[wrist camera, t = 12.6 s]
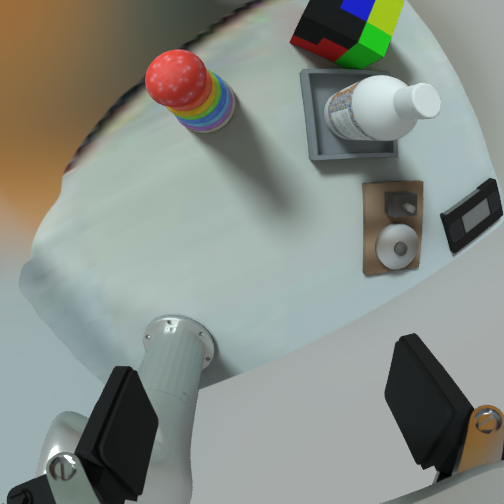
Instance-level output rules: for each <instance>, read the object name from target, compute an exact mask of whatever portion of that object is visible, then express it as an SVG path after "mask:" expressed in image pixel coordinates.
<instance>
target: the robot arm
mask: <svg viewBox="0 0 504 504" xmlns="http://www.w3.org/2000/svg"><path fill="white" fill-rule="evenodd" d="M143 344H144V348H145V351H146V354H145V356H144V359H143V361H142V363H141V366H140V368H139V371H138V373H137V371H136V370H133V369H132V368H131V367H130V366H116V367H115V368H114V369H113V371H112V373H111V375H110V377H109V379H108V381H107V383H106V385H105V387H104V389H103V392H102V394H101V396H100V398H99V400H98V401H97V403H96V405H95V407H94V409H93V411H92V413H91V416H90V418H87V417H85V416H83V415H81V414H79V413H76V412H72V411H65V412H62V413H60V414H59V415H58V416H57V417H56V418H55V419H54V420H53V422H52V424H51V426H50V428H49V430H48V433H47V435H46V438H45V441H44V445H43V448H42V451H41V455H40V459H39V463H38V467H37V471H36V475H35V478H34V479H32V480H30V481H27V482H25V483H23V484H20V485H18V486H15V487H14V488H12V489H11V490H10V491H9V493H8V496H7V504H190V501H191V496H192V472H191V460H190V450H191V438H192V430H193V423H194V415H195V409H196V403H197V397H198V391H199V385H200V379H201V373H202V370H203V369H205V368H206V367H207V366H209V364H210V363H211V362H212V359H213V357H214V351H215V346H214V342H213V339H212V337H211V335H210V334H209V332H208V331H207V330H206V329H205V328H204V327H203V326H202V325H200V324H199V323H197V322H196V321H194V320H192V319H189V318H186V317H183V316H176V315H168V316H163V317H160V318H157V319H155V320H154V321H153V322H151V323H150V324H149V326H148V327H147V329H146V331H145V333H144V336H143ZM385 399H386V402H387V404H388V406H389V408H390V410H391V412H392V414H393V416H394V418H395V420H396V422H397V424H398V426H399V428H400V430H401V432H402V434H403V437H404V439H405V441H406V443H407V445H408V447H409V449H410V451H411V454H412V456H413V458H414V460H415V462H416V463H417V464H418V465H420V464H421V467H422V469H423V470H424V469H427V468H429V467H431V466H435V468H436V471H437V473H436V476H435V479H434V481H433V484H432V485H430V486H428V487H425V488H423V489H420V490H418V491H415V492H412V493H410V494H407V495H404V496H401V497H398V498H396V499H393V500H390V501H387V502H384V503H380V504H504V414H503V413H502V412H501V410H500V409H498V408H496V407H494V406H491V405H483V406H479V407H478V408H476V409H474V408H473V406H472V405H471V404H470V402H469V401H468V400H467V398H466V397H465V395H464V394H463V393H462V391H461V390H460V389H459V387H458V386H457V385H456V383H455V382H454V381H453V379H452V378H451V377H450V375H449V374H448V373H447V371H446V370H445V369H444V367H443V366H442V365H441V364H440V363H439V362H438V360H437V359H436V358H435V357H434V355H433V354H432V353H431V352H430V350H429V349H428V348H427V347H426V345H425V344H424V343H423V342H422V340H421V339H420V338H419V337H418V335H416V334H415V333H413V334H409V335H405V336H401V337H400V339H399V341H397V342H396V343H395V348H394V353H393V358H392V362H391V367H390V371H389V376H388V380H387V384H386V388H385ZM2 504H4V503H2Z"/></svg>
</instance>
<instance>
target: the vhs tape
mask: <svg viewBox="0 0 504 504" xmlns="http://www.w3.org/2000/svg"><path fill="white" fill-rule="evenodd" d="M502 215H503V210H502V205H501V200H500V195H499V191H498V187H497V183H496V180H495V179H492V178H489V179H488V180H487V181H485V182H484V183H483V184H481V185H480V186H479V187H477V189H476V190H474V191H473V192H472V193H470V194H469V195H468V196H466V197H465V198H464V199H462V200H461V201H459V202H458V203H457V204H455V205H454V206H452V207H451V208H450V209H448V210H447V211H445V212H444V213H441V214H440V217H441V220H442V223H443V226H444V230H445V233H446V237H447V240H448V244H449V248H450V251H452V252H453V253H456V252H458V251H459V250H460V249H461V248H463V247H464V246H465V245H467V244H468V243H469V242H471V241H472V240H473V239H474V238H476V237H477V236H478V235H479V234H481V233H482V232H483V231H484V230H486V229H487V228H488V227H489V226H491V225H492V224H493V223H494V222H495V221H497V220H498V219H499V218H500V217H501V216H502Z"/></svg>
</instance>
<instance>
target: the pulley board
mask: <svg viewBox="0 0 504 504" xmlns="http://www.w3.org/2000/svg"><path fill="white" fill-rule="evenodd" d="M422 219H423V181H419V180H418V181H392V182H373V183H363V273H364V274H365V275H370V274H376V273H383V272H389V271H396V270H402V269H408V268H414V267H419V259H420V249H421V236H422Z"/></svg>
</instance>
